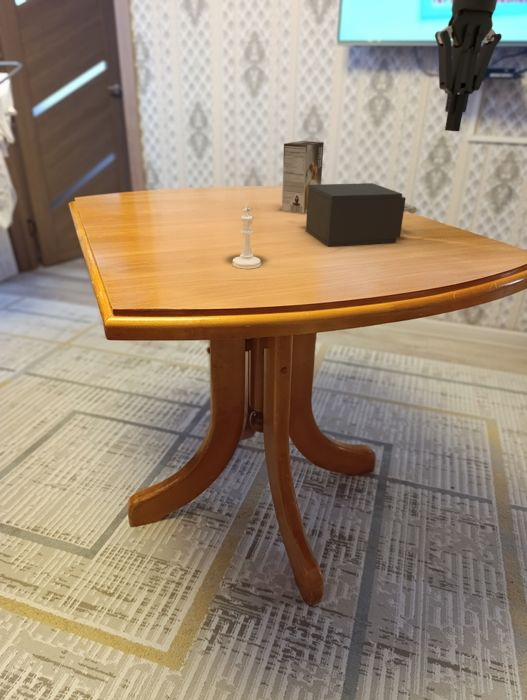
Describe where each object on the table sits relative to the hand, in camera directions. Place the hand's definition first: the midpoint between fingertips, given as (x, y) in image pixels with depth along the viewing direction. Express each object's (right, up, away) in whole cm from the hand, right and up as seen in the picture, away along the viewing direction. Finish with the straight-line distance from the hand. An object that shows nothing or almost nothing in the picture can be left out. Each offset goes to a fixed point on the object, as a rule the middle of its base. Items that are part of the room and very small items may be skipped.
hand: (451, 130), depth 101 cm
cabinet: (-20, -20, +4) cm, 29 cm away
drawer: (-16, -19, +5) cm, 25 cm away
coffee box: (-28, -10, +25) cm, 39 cm away
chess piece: (-40, -29, -14) cm, 52 cm away
